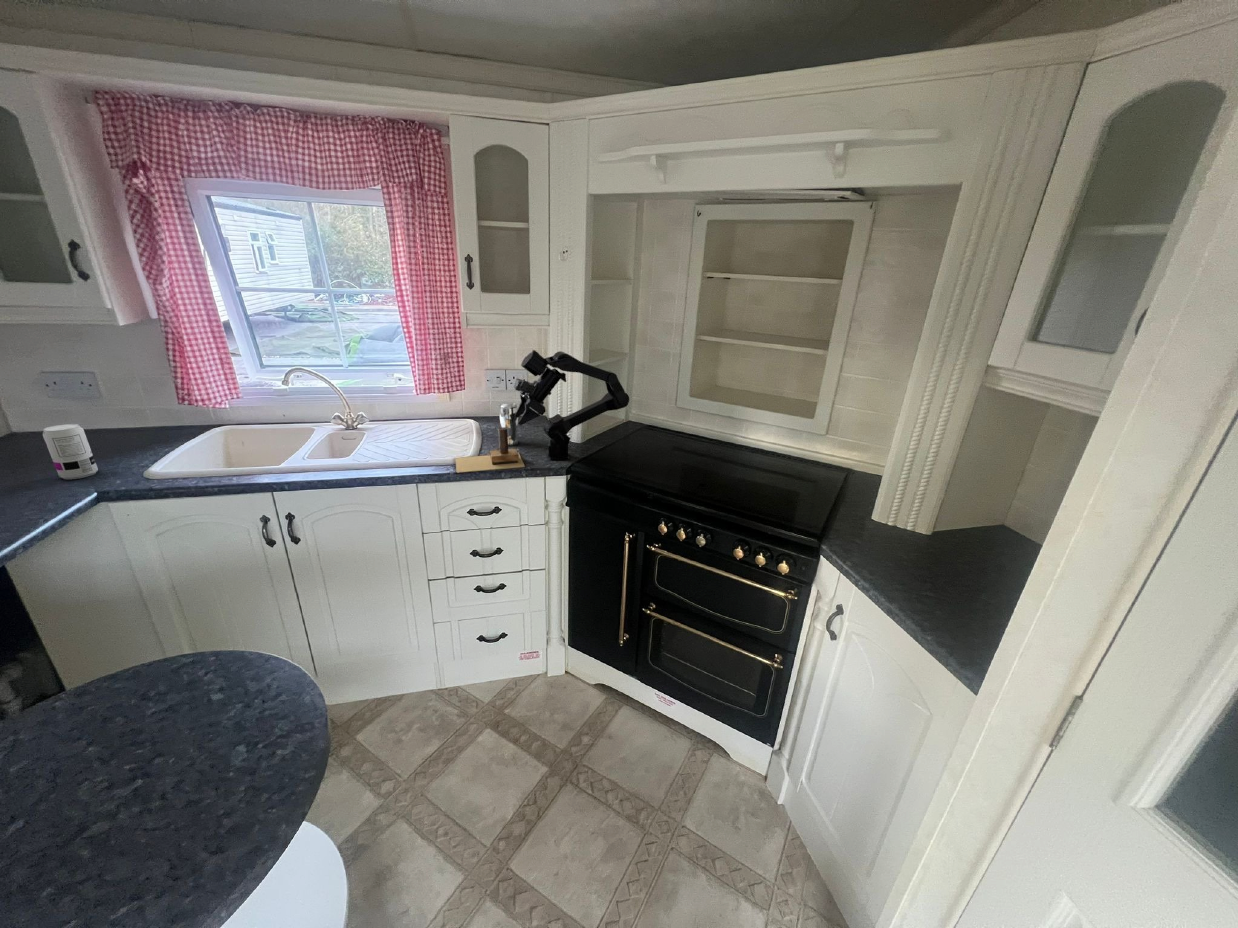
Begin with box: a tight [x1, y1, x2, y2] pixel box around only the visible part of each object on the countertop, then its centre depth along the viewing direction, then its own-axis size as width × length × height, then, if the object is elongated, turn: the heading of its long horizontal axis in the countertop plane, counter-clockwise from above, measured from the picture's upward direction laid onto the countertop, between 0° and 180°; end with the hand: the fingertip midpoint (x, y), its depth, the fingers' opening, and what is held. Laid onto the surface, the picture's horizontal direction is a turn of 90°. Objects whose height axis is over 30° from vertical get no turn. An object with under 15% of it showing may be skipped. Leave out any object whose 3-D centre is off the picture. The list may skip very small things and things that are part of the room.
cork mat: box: [454, 452, 526, 474], centre depth 169 cm, size 22×14×1 cm, turn 109°
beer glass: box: [498, 402, 519, 447], centre depth 187 cm, size 7×7×15 cm
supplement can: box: [42, 423, 99, 480], centre depth 146 cm, size 8×8×15 cm
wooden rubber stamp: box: [489, 426, 520, 465], centre depth 169 cm, size 9×6×12 cm, turn 109°
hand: (517, 420), depth 168 cm, fingers open, 9 cm apart
